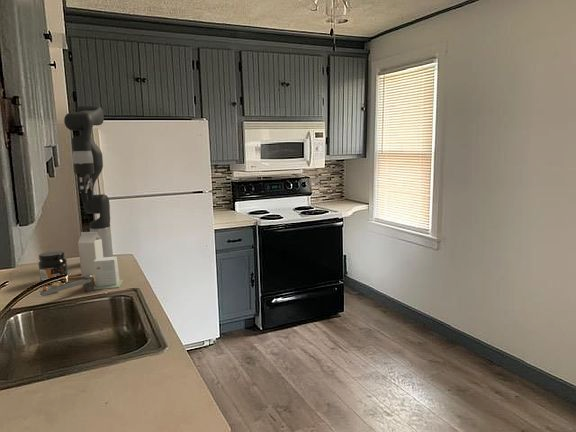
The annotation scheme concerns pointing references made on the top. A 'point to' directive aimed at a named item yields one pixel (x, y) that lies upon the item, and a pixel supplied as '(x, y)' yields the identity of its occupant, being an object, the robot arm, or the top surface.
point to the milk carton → (89, 251)
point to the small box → (106, 271)
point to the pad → (108, 286)
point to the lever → (65, 286)
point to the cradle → (72, 279)
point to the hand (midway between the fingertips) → (87, 201)
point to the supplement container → (52, 264)
